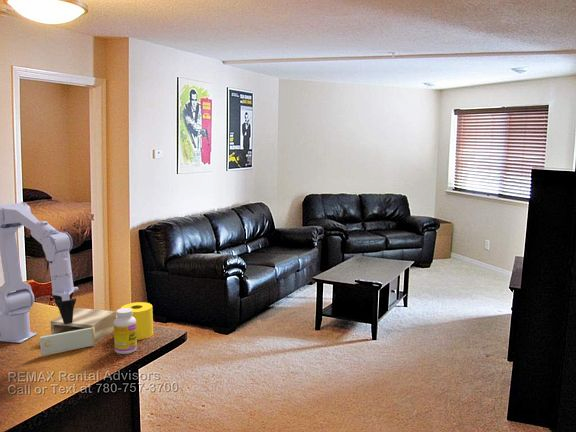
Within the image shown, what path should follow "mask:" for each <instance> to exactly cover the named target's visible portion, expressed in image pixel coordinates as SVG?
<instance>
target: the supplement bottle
mask: <svg viewBox="0 0 576 432" xmlns="http://www.w3.org/2000/svg"><path fill="white" fill-rule="evenodd" d="M132 314H133V312H132V309H131V308H121V307H120V308H118V309H117V310H116V319H115V320H114V332H113V342H114V344H113V345H114V352H115V353H117V354H120V355H127V354H132V353H134V352H135V351H136V350H137V349H138V340H137V332H136V319H135V318H134V317H133V316H132Z"/></svg>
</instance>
